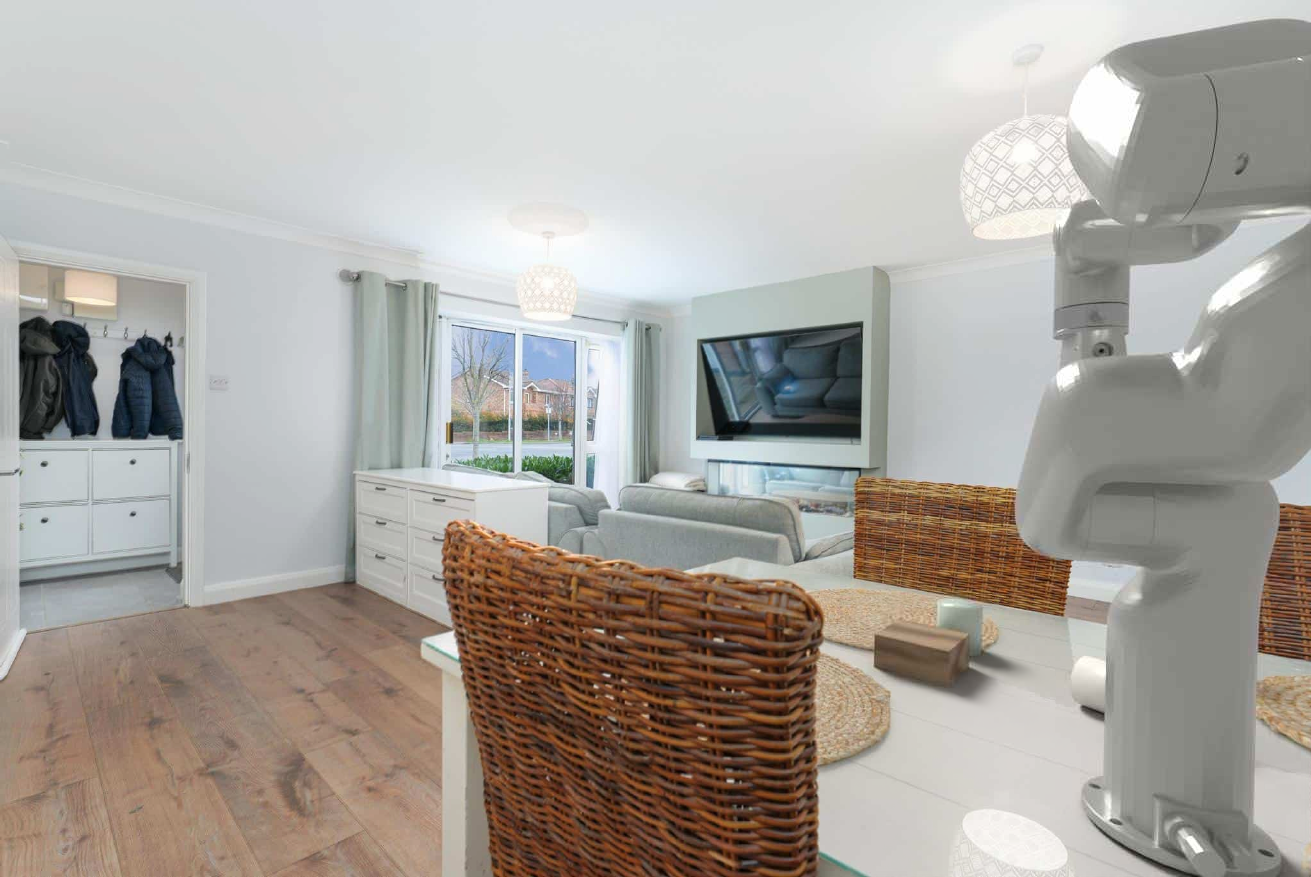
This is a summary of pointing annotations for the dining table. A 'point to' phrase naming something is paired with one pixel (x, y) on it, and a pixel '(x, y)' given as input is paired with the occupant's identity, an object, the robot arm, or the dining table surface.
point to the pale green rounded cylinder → (962, 620)
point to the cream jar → (1089, 683)
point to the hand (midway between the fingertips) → (1087, 464)
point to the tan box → (922, 651)
